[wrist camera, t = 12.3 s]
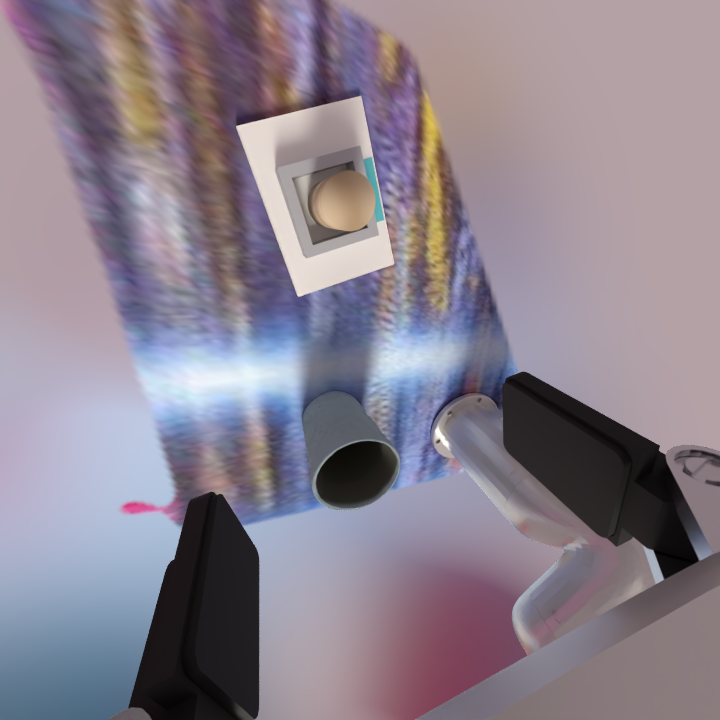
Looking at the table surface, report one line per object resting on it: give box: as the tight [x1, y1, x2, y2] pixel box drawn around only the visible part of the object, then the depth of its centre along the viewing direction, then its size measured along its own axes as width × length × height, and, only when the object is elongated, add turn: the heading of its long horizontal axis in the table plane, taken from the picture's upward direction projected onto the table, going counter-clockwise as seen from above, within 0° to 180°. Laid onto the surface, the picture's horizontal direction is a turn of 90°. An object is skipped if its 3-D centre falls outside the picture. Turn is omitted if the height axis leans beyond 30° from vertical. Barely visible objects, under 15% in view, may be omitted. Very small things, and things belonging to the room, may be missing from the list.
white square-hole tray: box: [236, 96, 394, 297], centre depth 31 cm, size 12×16×4 cm
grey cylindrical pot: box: [302, 391, 400, 510], centre depth 39 cm, size 10×10×12 cm
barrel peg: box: [307, 170, 376, 231], centre depth 29 cm, size 4×4×8 cm
